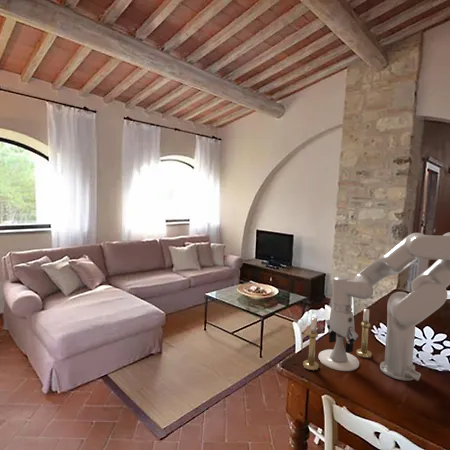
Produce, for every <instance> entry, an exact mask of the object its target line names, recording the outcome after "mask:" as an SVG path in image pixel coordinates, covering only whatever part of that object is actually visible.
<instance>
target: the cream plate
mask: <svg viewBox="0 0 450 450" xmlns="http://www.w3.org/2000/svg"><path fill="white" fill-rule="evenodd" d="M333 349H334V348H333ZM333 349H324V350H322V351H319V353H318V357H317V358H318V360H320V361H319V362H320V363H321V364H322V365H323V366H325V367H326V368H329V369H332V370H335V371H340V372H353V371H355V370H358V368H359V367H360V361H359V359H358V358H357V357H356V356H355V355H353V354H351V352H349V353H346V355H347V358H348V360H347V362H344V363H339V362H336V361H333V360H332V359H331V358H330V355H331V353H332V351H333Z"/></svg>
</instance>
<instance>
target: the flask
mask: <svg viewBox="0 0 450 450" xmlns="http://www.w3.org/2000/svg"><path fill="white" fill-rule="evenodd" d="M344 339H345V337H343V336H341V335H339V334H338V333H336V342H335V344H334V347H333V351H332V353H331V355H330V358H331V359H332V360H333V361H336V362H339V363H344V362H347V360H348V358H347V355H346V347H345V346H344Z"/></svg>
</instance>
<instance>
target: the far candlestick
mask: <svg viewBox="0 0 450 450" xmlns="http://www.w3.org/2000/svg"><path fill="white" fill-rule="evenodd" d="M362 318H363V319H362V321H361V322H360V325H361V328H362V329H361V342H360V343H361V346H360V348H358V349H356V352H355V353H356V354H355V355H357V357H359V358H363V359H371V358H372V355H373V354H372V352H371V351H370V350H368V342H369V341H368V340H369V328H371V323H370V322H369V320H370V309H368V308H364V309H363V315H362Z"/></svg>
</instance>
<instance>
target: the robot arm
mask: <svg viewBox="0 0 450 450" xmlns="http://www.w3.org/2000/svg"><path fill="white" fill-rule="evenodd" d="M418 259H420V260H431V261H432V260H435V262H434V263H433V264H432V265H430V266H429V267H428V268H427V269H425V270H423V272H421V274H419V275H418V276H417V277H415V278H414V279H413V280H412V281H411V285H410V287H411V291H410V292H409V293H407V292H405V291H395V292H394V293H392V294H391V295H390V296H389V298H388V299H387V306H386V307H387V309H386V310H387V311H386V313H387V315H386V318H387V319H386V321H387V322H386V332H385V333H386V336H385V351H384V361H382V362H380V364H379V369H380V371H381V372H382V373H383V374H385V375H386V376H388V377H390V378H392V379H395V380H399V381H404V382H405V381H413V380H415V381H417V382H418V381H419V380H420V378H421V376H422V374H421V372H418V371H416V365H415V364H413V363H414V349H415V348H414V347H415V338H416V337H415V335H416V326H417V325H418V324H420V323H421V322H423V321H424V320H425V319H427V318H428V317H430V316H431V315H432V314H434V313H435V312H436V311H438V310H439V309H440V308H442V306H443V305H444V304H445V303H446V301H447V298H448V291H447V288H448V287H449V286H450V231H449V232H446V233H444V234H442V235H429V234H424V233H421V232H413V233H410V234H408V235H407V236H406V237H404V238H403V239H402V240H401V241H400V242H398V243H397V244H396V245H394V246H393V248H391V249H390V250H389V251H387V252H386V253H385V254H383V255H382V256H381V257H379V258H378V259H376V260H374V262H372V263H370V264H368V265H367V266H366V267H365V268H363V269H362V270H361V271H360V272H359V273H357V274H356V275H355V276H354V278H353V279H352V278H351V277H350V276H349V277H348V276H344V275H337V276H334V277H333V279H332V295H331V296H332V297H331V308H330V309H331V310H330V312H329V313H330V314H329V319H326V320H325V324H326V328H327V330H328V331H327V332H328V335H329V336H328V342H329V343H336V334H339V335H341V336H343V337H344V339H345V340H346V343H345V352H346V353H353V352H354V343H355V342H357V339H358V338H359V334H358V333H357V332H356V331H355V317H354V313H353V308H352V307H353V306H352V305H353V304H352V301H353V300H352V299H353V298H356V299H360V300H366V299H369V298H371V297H372V296H373V294H374V286H375V285H377V284H378V283H379V282H380V281H381V280H383V279H384V278H387V277H389V276H393V275H398V274H401V273H402V272H403V271H404V270H406V269H407V268H408V267H409V266H411V265H412V264H413V263H414V262H415V263H416V261H417V260H418Z"/></svg>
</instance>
